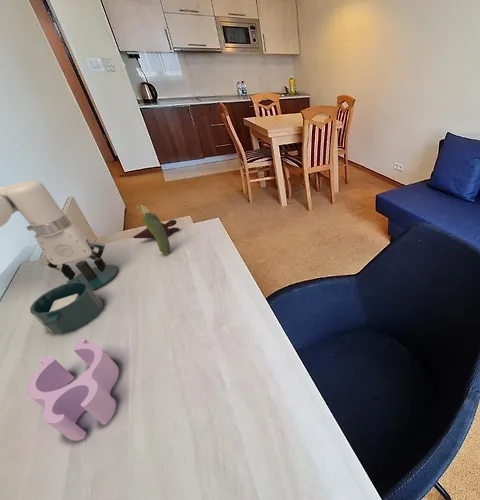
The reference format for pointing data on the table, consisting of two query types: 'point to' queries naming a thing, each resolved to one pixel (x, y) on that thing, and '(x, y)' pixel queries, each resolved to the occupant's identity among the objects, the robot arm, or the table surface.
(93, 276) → the pot lid
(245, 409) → the table surface
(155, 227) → the vegetable
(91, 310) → the pot
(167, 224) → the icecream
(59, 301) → the small box
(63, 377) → the clip
